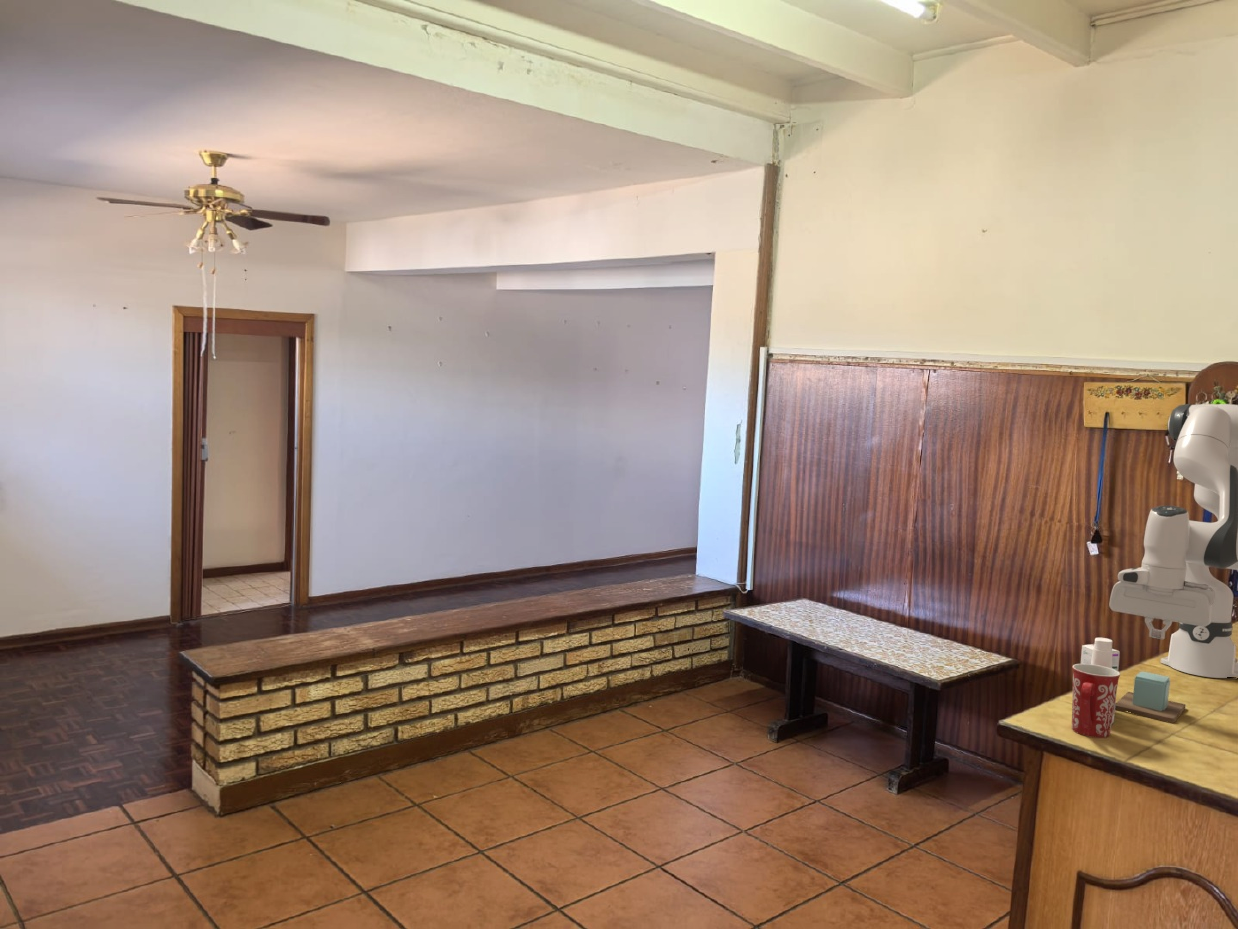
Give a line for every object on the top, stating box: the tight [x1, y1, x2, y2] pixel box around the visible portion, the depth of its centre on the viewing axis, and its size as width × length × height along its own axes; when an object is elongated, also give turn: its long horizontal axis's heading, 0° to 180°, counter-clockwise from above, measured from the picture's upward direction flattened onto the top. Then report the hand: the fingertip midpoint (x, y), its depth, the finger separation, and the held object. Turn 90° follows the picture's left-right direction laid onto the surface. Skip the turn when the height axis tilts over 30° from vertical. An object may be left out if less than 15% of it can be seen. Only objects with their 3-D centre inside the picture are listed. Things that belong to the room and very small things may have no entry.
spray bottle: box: [1091, 637, 1118, 725], centre depth 209 cm, size 7×7×18 cm
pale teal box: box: [1132, 670, 1171, 711], centre depth 219 cm, size 6×6×7 cm
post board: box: [1115, 691, 1186, 724], centre depth 219 cm, size 14×12×7 cm
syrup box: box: [1080, 643, 1121, 704], centre depth 216 cm, size 6×6×14 cm
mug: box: [1071, 663, 1121, 739], centre depth 200 cm, size 13×9×14 cm
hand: (1156, 637), depth 218 cm, fingers closed
